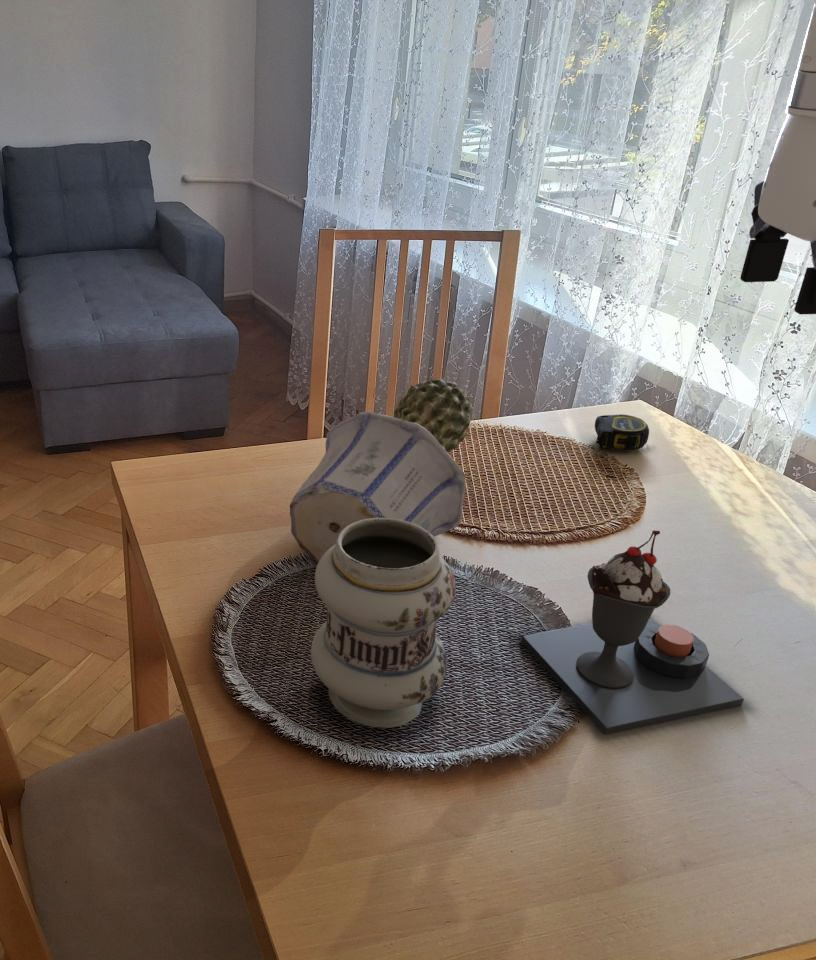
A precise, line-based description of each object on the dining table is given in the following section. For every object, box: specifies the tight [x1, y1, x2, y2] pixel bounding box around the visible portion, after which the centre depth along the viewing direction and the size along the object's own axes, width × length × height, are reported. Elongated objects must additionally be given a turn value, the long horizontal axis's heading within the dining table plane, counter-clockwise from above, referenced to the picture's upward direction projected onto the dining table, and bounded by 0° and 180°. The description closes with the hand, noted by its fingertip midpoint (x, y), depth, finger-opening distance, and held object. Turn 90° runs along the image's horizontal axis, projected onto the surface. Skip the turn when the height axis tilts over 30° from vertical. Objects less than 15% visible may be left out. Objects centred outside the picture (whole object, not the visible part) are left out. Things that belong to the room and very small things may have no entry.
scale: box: [520, 617, 745, 736], centre depth 81 cm, size 14×13×3 cm
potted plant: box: [289, 378, 473, 564], centre depth 102 cm, size 18×18×30 cm
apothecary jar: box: [310, 518, 457, 729], centre depth 76 cm, size 12×12×18 cm
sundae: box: [576, 529, 671, 688], centre depth 77 cm, size 7×7×15 cm
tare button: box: [654, 624, 694, 657], centre depth 81 cm, size 3×3×2 cm
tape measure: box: [594, 414, 650, 452], centre depth 123 cm, size 7×7×4 cm
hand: (784, 296), depth 79 cm, fingers open, 9 cm apart
